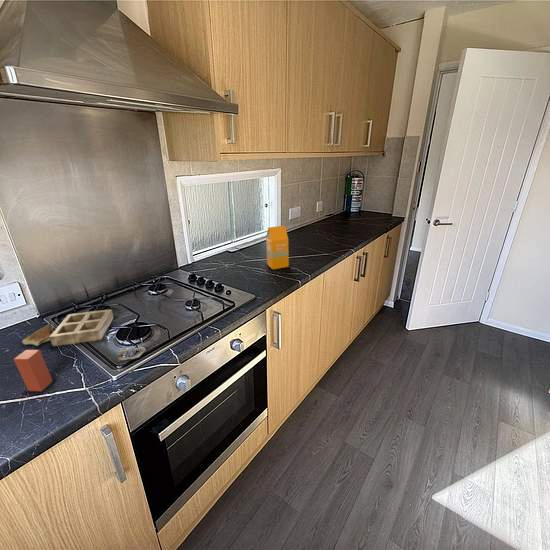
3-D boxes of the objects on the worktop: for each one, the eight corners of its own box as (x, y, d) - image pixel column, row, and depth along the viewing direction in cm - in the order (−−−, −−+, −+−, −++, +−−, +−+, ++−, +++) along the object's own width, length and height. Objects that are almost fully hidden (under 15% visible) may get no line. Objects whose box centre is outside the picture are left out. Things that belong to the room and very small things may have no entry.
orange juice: (288, 266, 146) (288, 227, 138) (272, 269, 143) (271, 229, 135) (282, 261, 152) (282, 223, 144) (266, 264, 149) (265, 225, 142)
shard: (52, 325, 101) (50, 321, 101) (71, 327, 100) (69, 322, 99) (22, 344, 92) (20, 339, 91) (42, 346, 90) (40, 341, 89)
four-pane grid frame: (52, 346, 90) (49, 337, 89) (71, 322, 103) (68, 314, 101) (101, 339, 93) (98, 330, 91) (113, 317, 105) (111, 309, 104)
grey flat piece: (113, 354, 86) (112, 349, 85) (142, 343, 90) (140, 338, 90) (119, 366, 81) (118, 360, 80) (149, 353, 86) (147, 348, 85)
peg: (28, 391, 73) (13, 359, 69) (39, 380, 77) (26, 349, 73) (41, 391, 73) (27, 359, 69) (52, 381, 76) (39, 349, 72)
